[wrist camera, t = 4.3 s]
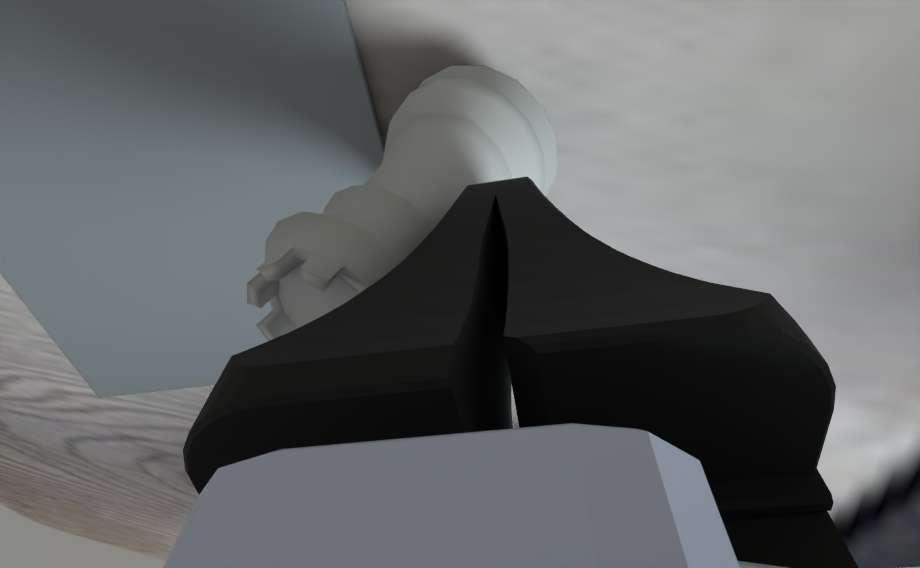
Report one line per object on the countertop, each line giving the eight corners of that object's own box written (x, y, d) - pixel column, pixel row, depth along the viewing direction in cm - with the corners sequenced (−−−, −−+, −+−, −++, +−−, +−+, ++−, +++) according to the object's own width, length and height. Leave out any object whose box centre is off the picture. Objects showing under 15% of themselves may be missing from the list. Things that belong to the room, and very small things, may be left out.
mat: (440, 354, 21) (440, 359, 20) (103, 391, 23) (98, 397, 22) (286, -210, 12) (282, -212, 11) (-255, -67, 14) (-268, -66, 13)
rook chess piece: (598, 126, 14) (477, 330, 8) (510, 244, 17) (377, 455, 11) (448, 21, 14) (214, 147, 8) (388, 159, 17) (188, 323, 11)
